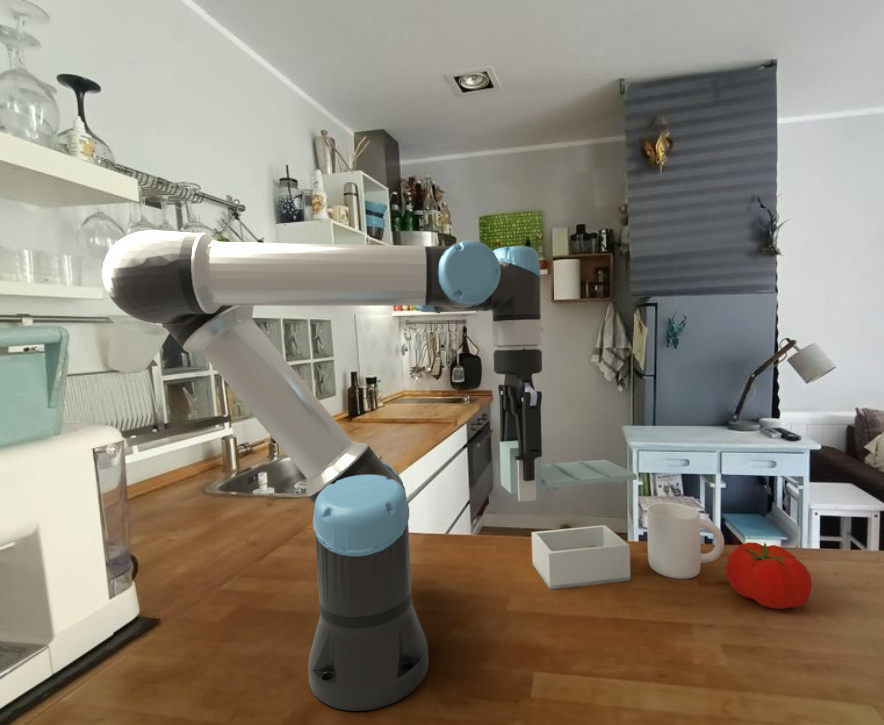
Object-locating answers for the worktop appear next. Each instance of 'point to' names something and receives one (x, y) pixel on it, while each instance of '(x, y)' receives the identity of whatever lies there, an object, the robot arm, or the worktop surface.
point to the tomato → (768, 575)
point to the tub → (580, 556)
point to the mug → (678, 540)
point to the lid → (560, 471)
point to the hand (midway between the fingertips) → (520, 494)
